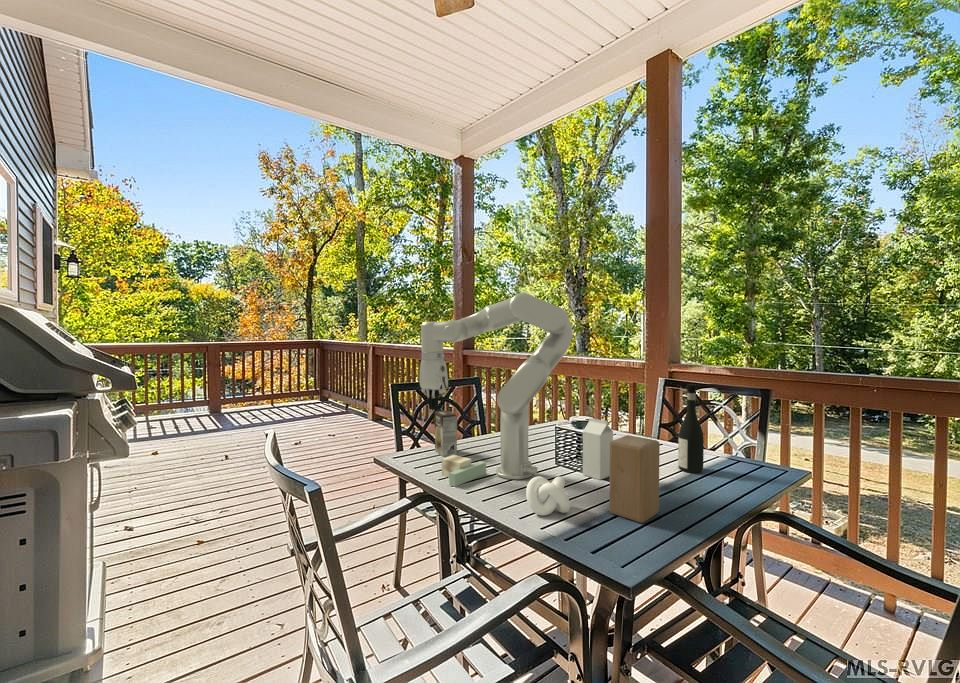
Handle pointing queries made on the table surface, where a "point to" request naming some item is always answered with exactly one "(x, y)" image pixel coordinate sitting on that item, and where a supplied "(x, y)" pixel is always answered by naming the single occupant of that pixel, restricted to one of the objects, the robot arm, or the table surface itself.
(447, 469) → the birch block
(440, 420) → the coffee box
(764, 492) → the table surface
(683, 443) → the wine bottle
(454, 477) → the board
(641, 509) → the wooden block
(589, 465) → the milk carton
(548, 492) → the white knot
